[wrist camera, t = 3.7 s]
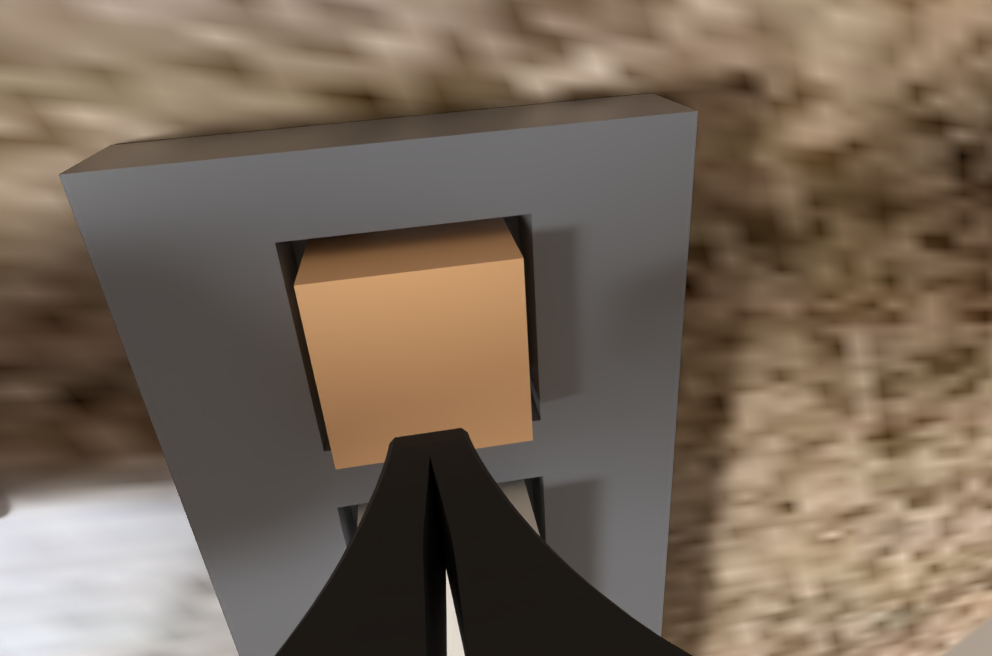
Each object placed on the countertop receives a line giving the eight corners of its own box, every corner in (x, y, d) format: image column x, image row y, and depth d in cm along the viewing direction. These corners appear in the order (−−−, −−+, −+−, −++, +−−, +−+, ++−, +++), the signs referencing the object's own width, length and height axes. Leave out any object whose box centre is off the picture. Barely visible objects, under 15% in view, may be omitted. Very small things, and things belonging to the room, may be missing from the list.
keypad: (313, 756, 29) (306, 834, 26) (110, 144, 17) (58, 174, 14) (628, 696, 30) (652, 765, 27) (652, 93, 18) (698, 110, 15)
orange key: (342, 403, 19) (335, 469, 17) (307, 239, 17) (293, 285, 14) (512, 379, 20) (532, 440, 17) (502, 217, 17) (523, 258, 15)
